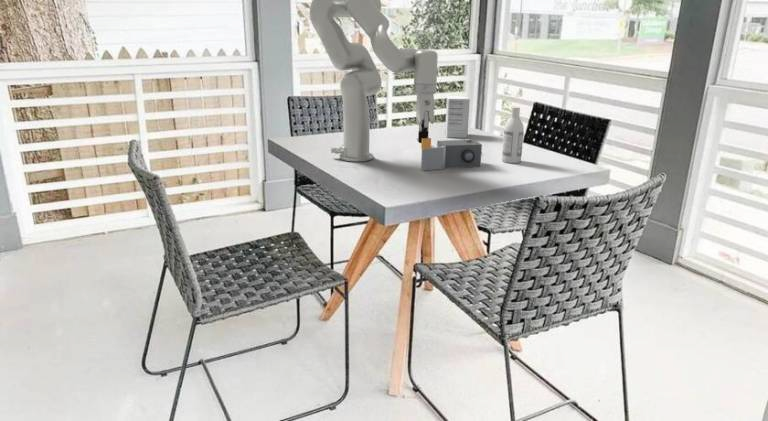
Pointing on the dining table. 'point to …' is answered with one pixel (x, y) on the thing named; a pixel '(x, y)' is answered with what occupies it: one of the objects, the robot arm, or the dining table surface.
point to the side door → (432, 156)
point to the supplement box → (457, 116)
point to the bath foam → (513, 138)
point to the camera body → (461, 153)
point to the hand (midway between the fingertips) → (423, 142)
